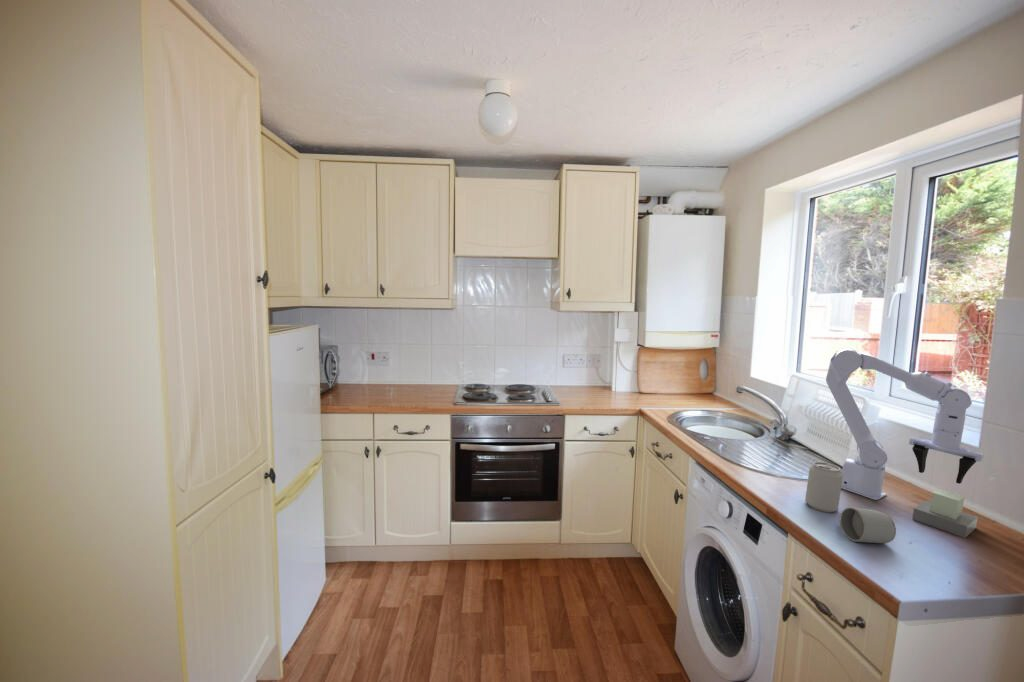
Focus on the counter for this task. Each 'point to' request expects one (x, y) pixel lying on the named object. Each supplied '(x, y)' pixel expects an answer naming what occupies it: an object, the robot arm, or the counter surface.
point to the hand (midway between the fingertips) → (939, 477)
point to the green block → (946, 503)
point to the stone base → (945, 520)
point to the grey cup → (867, 525)
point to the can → (824, 486)
